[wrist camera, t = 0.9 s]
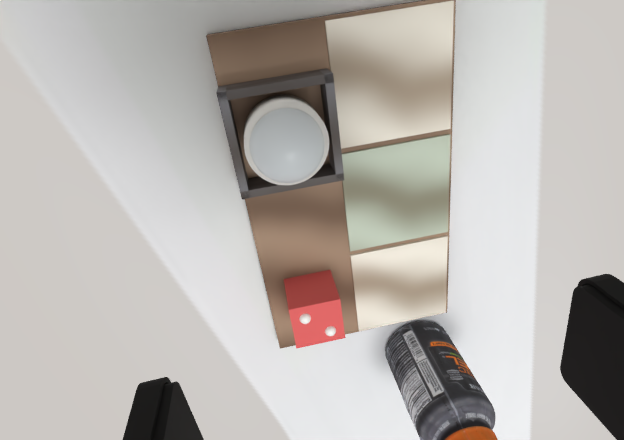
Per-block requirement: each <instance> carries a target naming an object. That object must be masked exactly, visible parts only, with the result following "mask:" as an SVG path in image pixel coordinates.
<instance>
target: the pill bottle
mask: <svg viewBox="0 0 624 440" xmlns="http://www.w3.org/2000/svg"><path fill="white" fill-rule="evenodd" d="M386 358H387V361H388V363H389V366H390V368H391V371H392V373H393V375H394V378H395V380H396V382H397V385H398V388H399V390H400V392H401V395H402V398H403V400H404V403H405V405H406V408H407V410H408V413H409V415H410V417H411V419H412V421H413V424H414V426H415V428H416V430H417V433H418V435H419V437H420V439H421V440H497V438H496V435H495V433H494V432H493V431H492V429H493V427H494V424H495V412H494V408H493V406H492V404H491V402H490V401H489V399H488V398H487V396H486V395H485V393H484V391H483V390H482V388H481V386H480V385H479V384H478V382H477V381H476V379H475V377H474V376H473V374H472V372H471V371H470V369H469V368H468V366H467V365H466V363H465V361H464V360H463V358H462V357H461V355H460V354H459V352H458V350H457V349H456V347H455V345H454V344H453V342H452V341H451V339H450V338H449V336H448V334H447V333H446V331H445V330H444V329H443V328H442V327H441V326H439V325H438V324H436V323H433V322H427V321H419V322H414V323H411V324H408V325H406V326H404V327H402V328H401V329H399V330H398V331H397V332H396V333H394V335H393V336H392V337H391V338H390V340H389V341H388V343H387V346H386Z"/></svg>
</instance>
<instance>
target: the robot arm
mask: <svg viewBox="0 0 624 440" xmlns="http://www.w3.org/2000/svg"><path fill="white" fill-rule="evenodd" d="M560 370H561V374H562V376H563V378H564V380H565V382H566V383H567V384H568V385H569V387H570V388H571V389H572V390H573V391H574V392H575V393H576V394H577V396H578V397H579V398H580V399H581V400H582V401H583V402H584V403H585V404H586V406H587V407H588V408H589V409H590V410H591V411H592V412H593V413H594V415H595V416H596V417H597V418H598V419H599V420H600V421H601V422H602V424H603V425H604V426H605V427H606V428H607V429H608V430H609V431H610V433H611V434H612V435H613V436H614V437H615V438H616V439H617V440H624V283H623V282H622V281H620V280H619V279H617V278H616V277H614V276H612V275H610V274H603V275H600V276H595V277H591V278H586V279H583V280H581V281H580V282H579V284H578V286H577V287H576V288H575V289H574V291H573V296H572V302H571V308H570V314H569V320H568V325H567V332H566V337H565V343H564V349H563V355H562V360H561V366H560ZM123 440H203V437H202V435H201V432H200V430H199V428H198V426H197V423H196V421H195V419H194V416H193V414H192V412H191V410H190V407H189V405H188V403H187V400H186V398H185V396H184V394H183V391H182V389H181V387H180V385H179V383H178V382H173V383H171V382H170V380H169V378H167V377H164V378H160V379H156V380H151V381H147V382H143V383H140V384H139V385H138V387H137V390H136V394H135V397H134V401H133V404H132V409H131V412H130V415H129V419H128V423H127V426H126V430H125V433H124V437H123Z"/></svg>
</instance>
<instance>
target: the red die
mask: <svg viewBox="0 0 624 440" xmlns="http://www.w3.org/2000/svg"><path fill="white" fill-rule="evenodd" d="M284 284H285V291H286V297H287V303H288V310H289V314H290V319H291V324H292V329H293V333H294V338H295V343H296V348H300V347H305V346H310V345H314V344H319V343H324V342H328V341H333V340H337V339H342V338H345V331H344V324H343V316H342V308H341V301H340V297H339V294H338V291H337V288H336V285H335V282H334V279H333V276H332V273H331V270H326V271H321V272H316V273H311V274H307V275H302V276H297V277H292V278H287V279H284Z"/></svg>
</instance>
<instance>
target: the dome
mask: <svg viewBox="0 0 624 440" xmlns="http://www.w3.org/2000/svg"><path fill="white" fill-rule="evenodd" d="M328 150H329V136H328V131H327V128H326V126H325V124H324V122H323V121H322V119H321V118H320V116H319V115H318V114H317V112H316V111H315V109H314V108H313V107H312V106H311V105H310V104H309V103H307V102H306V101H304V100H303V99H301V98H299V97H296V96H293V95H285V94H281V95H274V96H271V97H268V98H266V99H264V100H262V101H261V102H259V103H258V104H257V105H256V106H255V107H254V108H253V109H252V110H251V112H250V113H249V115H248V117H247V119H246V122H245V126H244V151H245V155H246V159H247V161H248V163H249V165H250V166H251V168H252V169H253V171H254V172H255V173H256V174H257V175H258V176H260V177H261V178H262V179H264V180H266V181H268V182H270V183H273V184H277V185H294V184H298V183H301V182H304V181H306V180H308V179H309V178H311V177H312V176H314V175H315V174H316V173H317V172H318V171H319V170H320V168H321V167H322V165H323V164H324V162H325V160H326V158H327V155H328Z"/></svg>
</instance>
